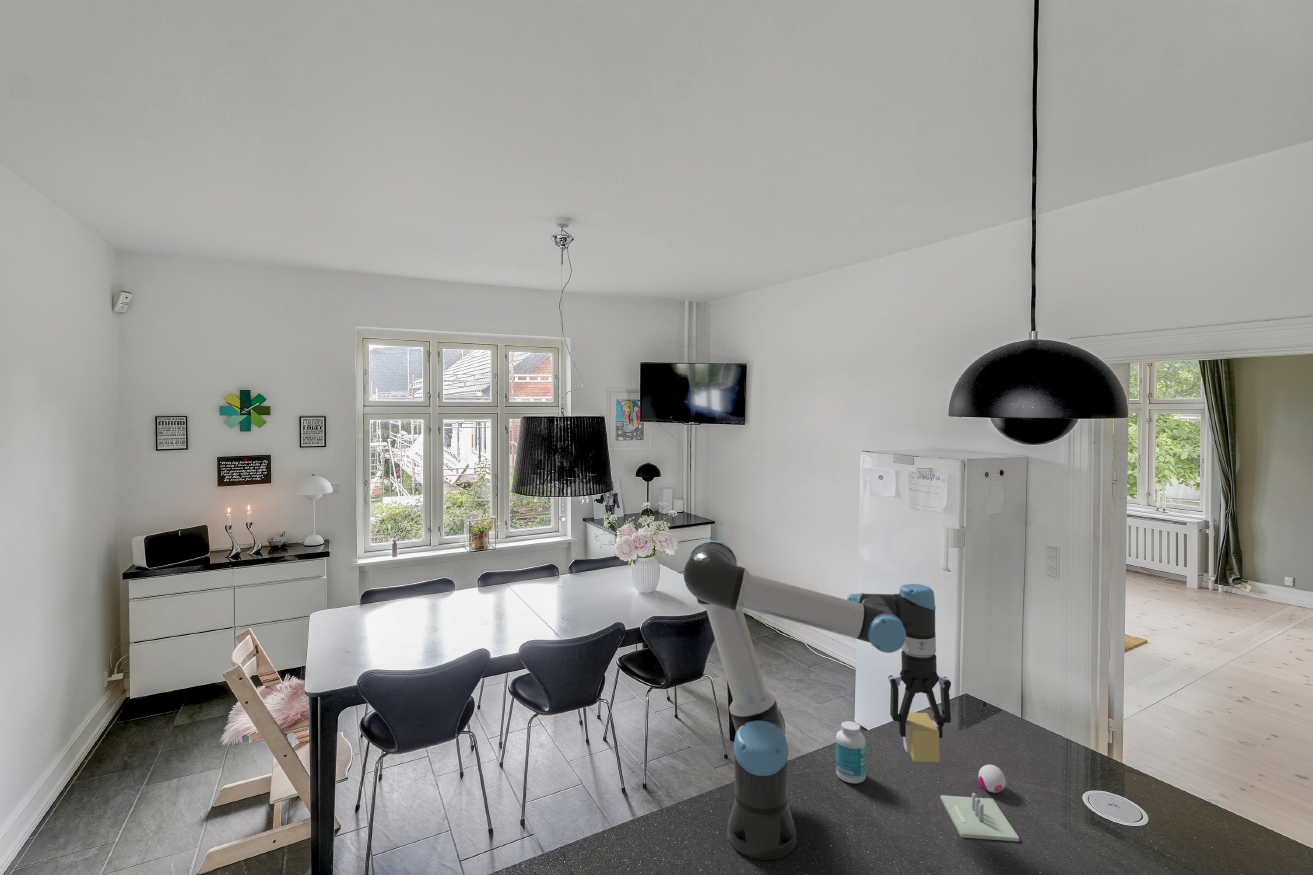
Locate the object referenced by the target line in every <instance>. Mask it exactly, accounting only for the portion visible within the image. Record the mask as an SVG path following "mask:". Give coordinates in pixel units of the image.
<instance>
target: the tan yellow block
mask: <svg viewBox="0 0 1313 875" xmlns="http://www.w3.org/2000/svg"><path fill="white" fill-rule="evenodd" d="M930 717H931V716H929V714H928V713H927V712H911V711H909V714H908V717H907V722H908V724H909V736H910V753H909V755H910V757H911V759H912V761H913V762H926V763H929V762H930V763H940V762H941V760H940V758H941V757H940V756H941V755H940V754H941V753H940V738H939V731H938V729H937V728H936V726H935V725H934V723H933V722H932V719H931V718H930ZM902 739H903V738H902ZM902 741H903V742H904V739H903V740H902Z"/></svg>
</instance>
